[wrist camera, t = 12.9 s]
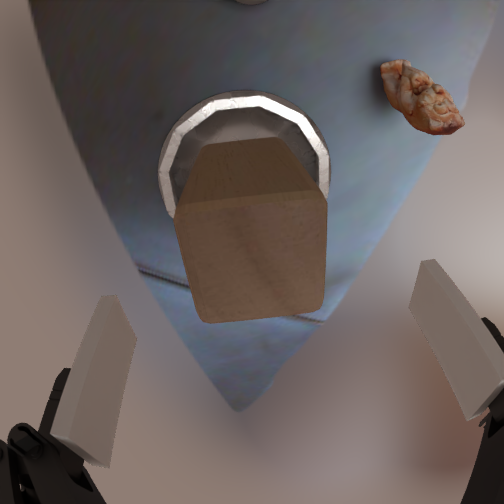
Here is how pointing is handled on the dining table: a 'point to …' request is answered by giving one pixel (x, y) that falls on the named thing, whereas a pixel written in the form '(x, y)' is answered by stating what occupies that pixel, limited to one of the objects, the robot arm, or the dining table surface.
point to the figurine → (420, 99)
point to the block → (252, 232)
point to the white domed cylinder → (251, 2)
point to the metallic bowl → (239, 137)
